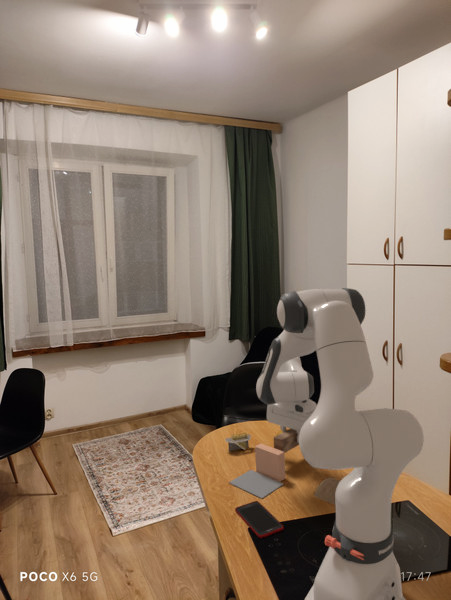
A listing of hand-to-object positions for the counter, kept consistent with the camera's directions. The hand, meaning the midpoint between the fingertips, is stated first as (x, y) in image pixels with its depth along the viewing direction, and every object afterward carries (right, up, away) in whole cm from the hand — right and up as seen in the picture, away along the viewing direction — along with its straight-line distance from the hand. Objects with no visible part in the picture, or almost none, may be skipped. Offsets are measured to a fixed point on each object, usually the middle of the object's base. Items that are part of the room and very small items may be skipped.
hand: (292, 439), depth 149 cm
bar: (0, -2, 0) cm, 2 cm away
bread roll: (0, -7, +18) cm, 19 cm away
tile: (-8, -9, -7) cm, 15 cm away
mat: (-14, -10, -13) cm, 21 cm away
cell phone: (-14, -12, -31) cm, 36 cm away
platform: (-18, -9, +12) cm, 23 cm away
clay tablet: (+11, -10, -20) cm, 25 cm away
